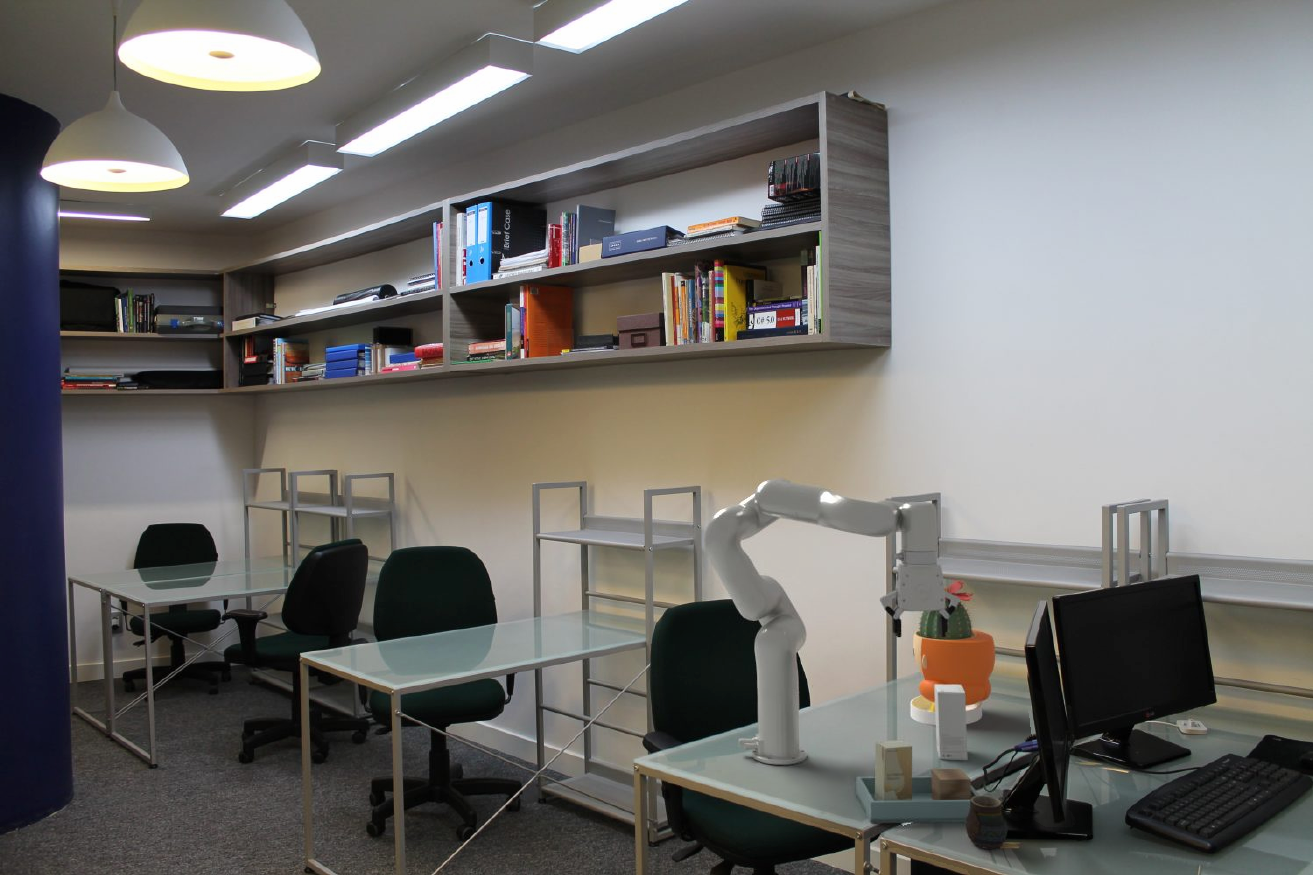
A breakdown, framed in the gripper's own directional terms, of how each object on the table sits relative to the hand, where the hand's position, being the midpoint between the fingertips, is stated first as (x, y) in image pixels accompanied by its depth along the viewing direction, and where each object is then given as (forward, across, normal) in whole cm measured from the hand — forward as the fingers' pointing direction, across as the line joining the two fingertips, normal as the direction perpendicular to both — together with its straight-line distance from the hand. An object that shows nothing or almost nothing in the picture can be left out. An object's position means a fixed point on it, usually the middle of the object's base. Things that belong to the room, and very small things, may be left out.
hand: (920, 635), depth 214 cm
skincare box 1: (+30, -11, -20) cm, 37 cm away
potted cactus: (+31, +20, +42) cm, 56 cm away
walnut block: (+30, 0, -20) cm, 36 cm away
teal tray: (+30, -6, -20) cm, 37 cm away
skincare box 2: (+31, +10, +12) cm, 34 cm away
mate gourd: (+31, +2, -37) cm, 48 cm away
